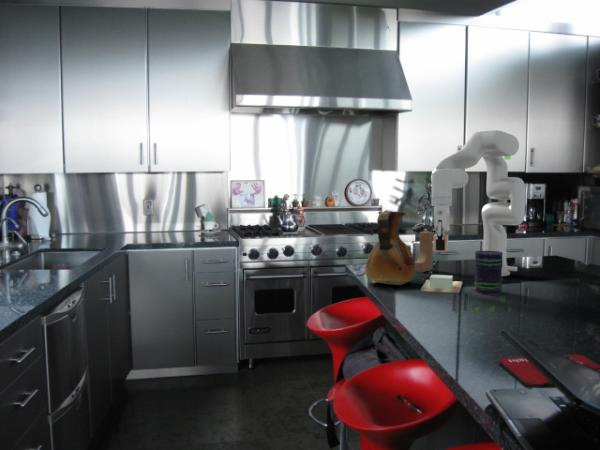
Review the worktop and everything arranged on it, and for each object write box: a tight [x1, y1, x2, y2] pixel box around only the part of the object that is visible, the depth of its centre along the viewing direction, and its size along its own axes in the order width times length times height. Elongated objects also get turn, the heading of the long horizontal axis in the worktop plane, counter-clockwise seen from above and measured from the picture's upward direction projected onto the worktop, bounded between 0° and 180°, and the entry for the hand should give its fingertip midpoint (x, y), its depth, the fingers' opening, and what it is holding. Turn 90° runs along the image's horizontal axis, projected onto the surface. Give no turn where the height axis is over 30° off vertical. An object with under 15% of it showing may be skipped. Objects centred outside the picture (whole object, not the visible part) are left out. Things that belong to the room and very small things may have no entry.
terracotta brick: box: [433, 233, 449, 253], centre depth 207 cm, size 5×5×6 cm
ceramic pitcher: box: [365, 210, 416, 286], centre depth 218 cm, size 20×20×30 cm
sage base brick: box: [429, 274, 454, 289], centre depth 208 cm, size 8×6×4 cm
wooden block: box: [414, 230, 434, 273], centre depth 249 cm, size 9×4×18 cm, turn 131°
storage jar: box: [473, 250, 503, 296], centre depth 201 cm, size 10×10×15 cm
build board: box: [420, 279, 463, 294], centre depth 211 cm, size 14×18×1 cm
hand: (441, 248), depth 207 cm, fingers closed on terracotta brick, 5 cm apart
